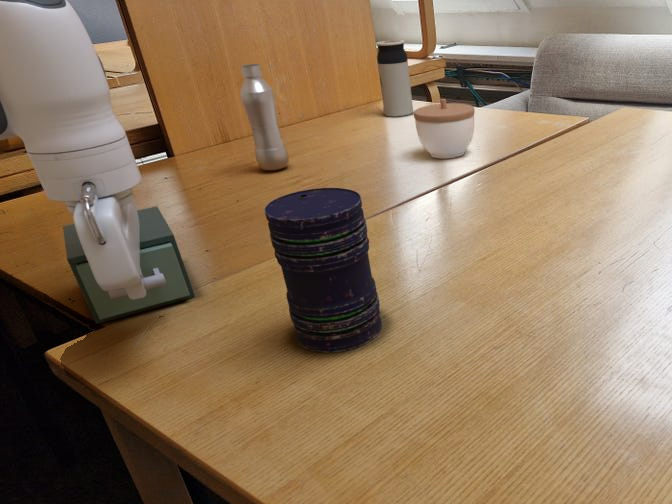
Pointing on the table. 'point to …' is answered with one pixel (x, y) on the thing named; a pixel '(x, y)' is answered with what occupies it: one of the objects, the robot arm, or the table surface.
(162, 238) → the cabinet
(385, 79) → the travel mug
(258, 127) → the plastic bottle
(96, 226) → the robot arm
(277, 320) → the table surface
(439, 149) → the lidded bowl
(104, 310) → the drawer
